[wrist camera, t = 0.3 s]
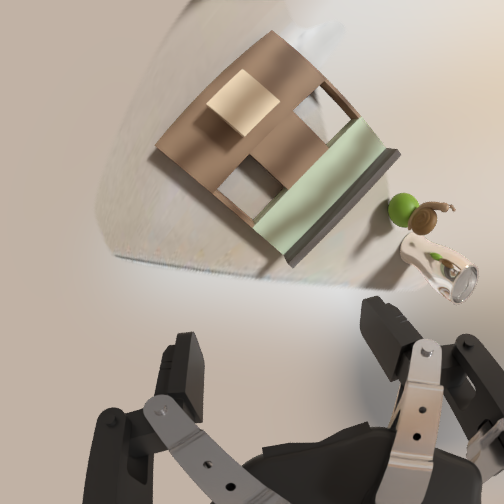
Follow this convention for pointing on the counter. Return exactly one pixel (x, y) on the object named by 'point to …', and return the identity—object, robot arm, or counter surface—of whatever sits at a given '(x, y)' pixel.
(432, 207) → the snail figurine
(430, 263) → the beer glass
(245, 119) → the block
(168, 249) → the counter surface
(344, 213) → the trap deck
